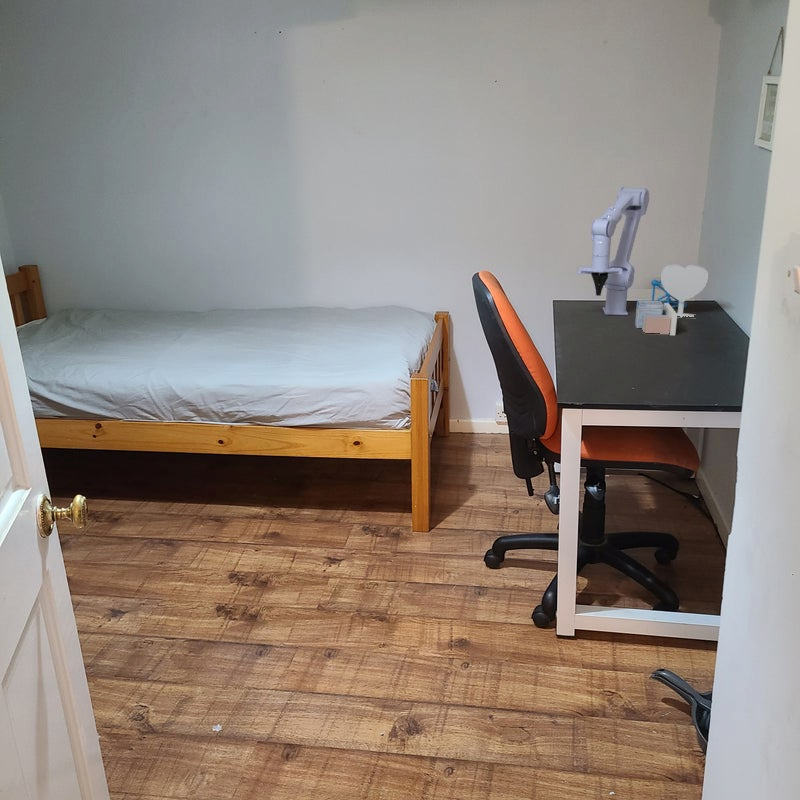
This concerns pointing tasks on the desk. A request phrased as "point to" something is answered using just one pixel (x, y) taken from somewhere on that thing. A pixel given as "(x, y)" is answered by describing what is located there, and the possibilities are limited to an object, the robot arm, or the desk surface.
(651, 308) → the medicine box
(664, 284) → the heart sculpture
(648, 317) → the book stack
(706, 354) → the desk surface
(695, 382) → the desk surface
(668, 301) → the molecular structure
